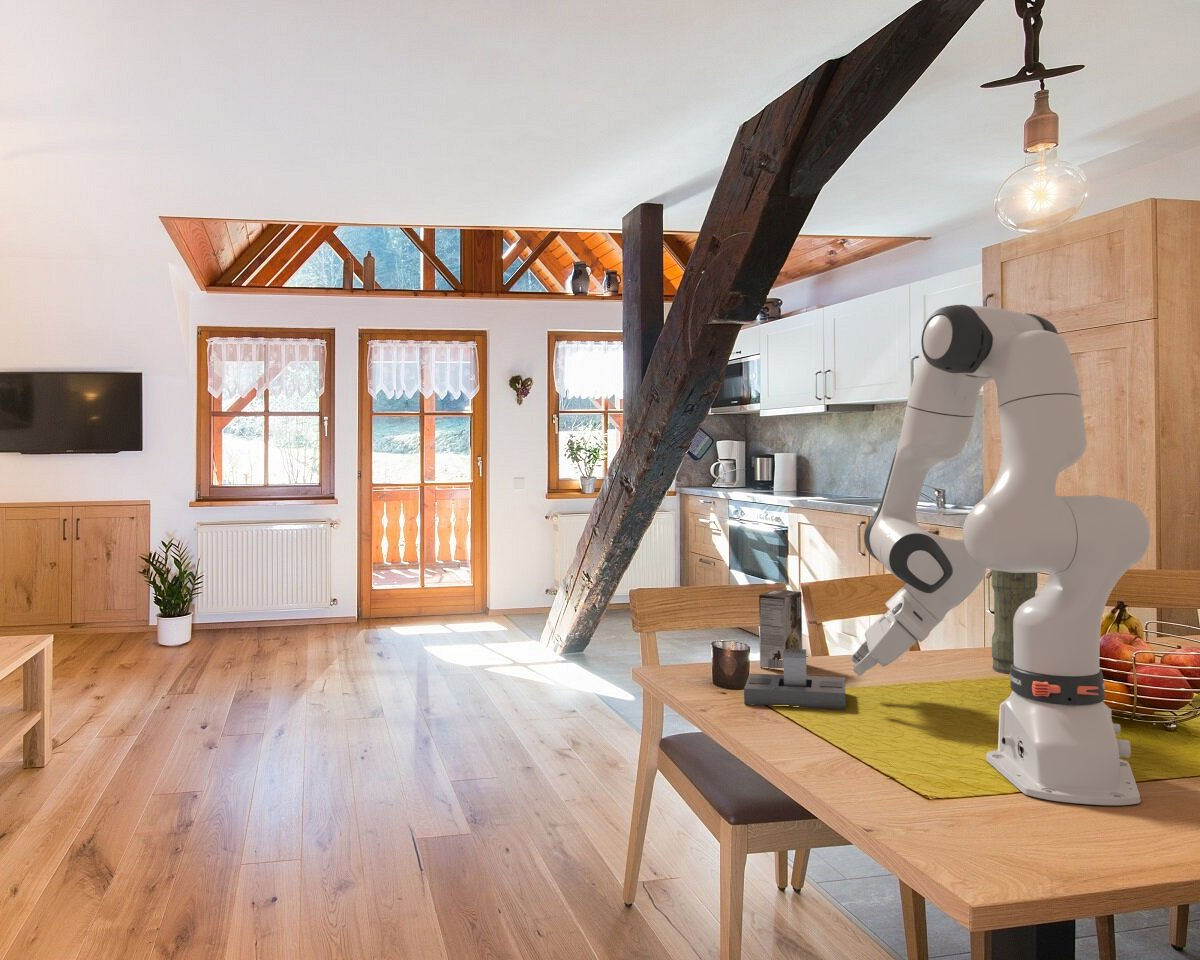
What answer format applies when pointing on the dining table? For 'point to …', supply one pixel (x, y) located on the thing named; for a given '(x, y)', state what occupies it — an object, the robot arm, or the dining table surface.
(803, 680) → the light grey block
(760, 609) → the coffee box
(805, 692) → the grey slotted base
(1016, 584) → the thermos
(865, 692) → the dining table surface
